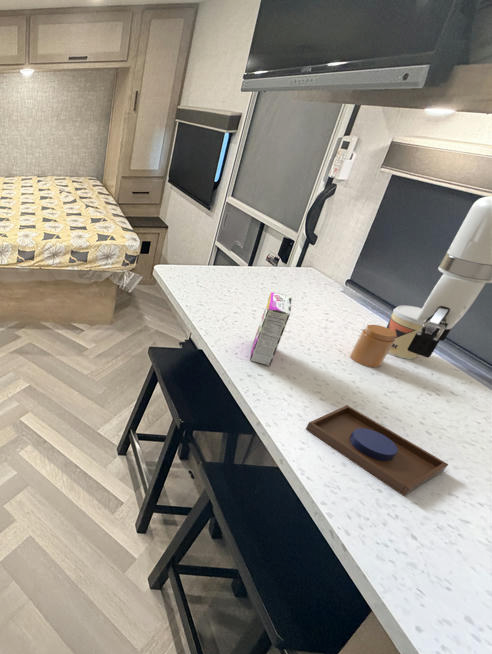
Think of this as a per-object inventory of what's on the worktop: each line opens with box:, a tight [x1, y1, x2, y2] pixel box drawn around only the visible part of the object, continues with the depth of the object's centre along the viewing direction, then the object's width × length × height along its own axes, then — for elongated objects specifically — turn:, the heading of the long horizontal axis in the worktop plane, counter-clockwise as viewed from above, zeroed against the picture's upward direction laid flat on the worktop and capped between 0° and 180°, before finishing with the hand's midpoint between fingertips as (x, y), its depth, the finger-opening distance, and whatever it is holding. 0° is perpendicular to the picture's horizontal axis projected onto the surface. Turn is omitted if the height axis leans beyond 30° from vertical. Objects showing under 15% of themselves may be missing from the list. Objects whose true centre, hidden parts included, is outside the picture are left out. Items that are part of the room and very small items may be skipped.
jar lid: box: [350, 428, 398, 461], centre depth 80 cm, size 7×7×2 cm
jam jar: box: [349, 324, 396, 368], centre depth 104 cm, size 6×6×10 cm
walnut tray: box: [305, 404, 449, 497], centre depth 80 cm, size 17×13×2 cm
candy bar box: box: [249, 291, 293, 367], centre depth 105 cm, size 11×5×16 cm, turn 145°
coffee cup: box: [385, 305, 427, 360], centre depth 107 cm, size 9×9×12 cm
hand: (425, 345), depth 79 cm, fingers open, 9 cm apart
